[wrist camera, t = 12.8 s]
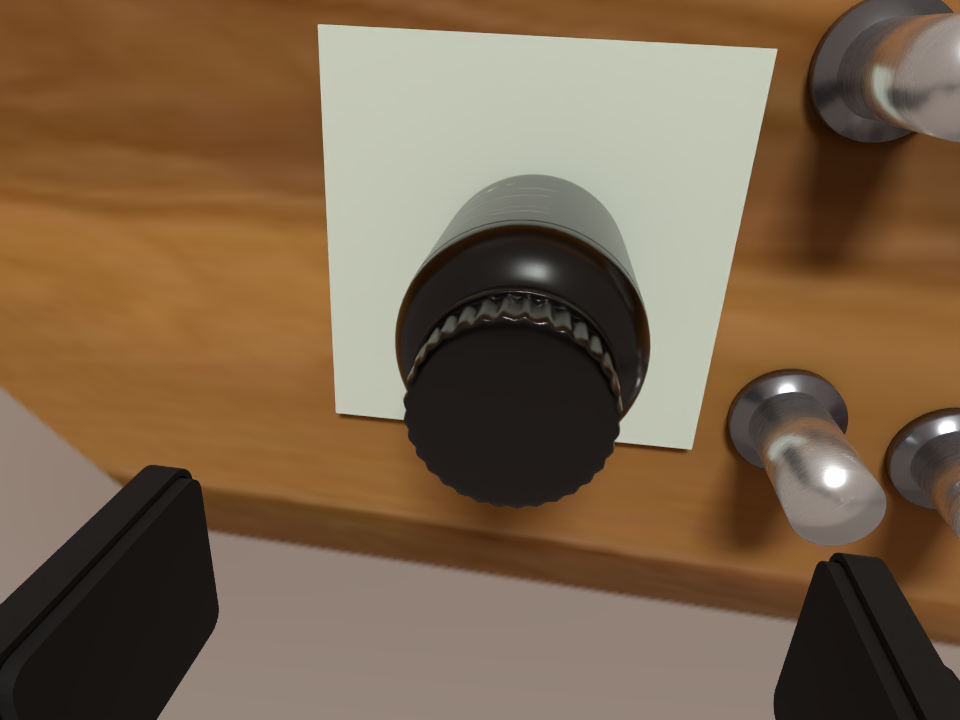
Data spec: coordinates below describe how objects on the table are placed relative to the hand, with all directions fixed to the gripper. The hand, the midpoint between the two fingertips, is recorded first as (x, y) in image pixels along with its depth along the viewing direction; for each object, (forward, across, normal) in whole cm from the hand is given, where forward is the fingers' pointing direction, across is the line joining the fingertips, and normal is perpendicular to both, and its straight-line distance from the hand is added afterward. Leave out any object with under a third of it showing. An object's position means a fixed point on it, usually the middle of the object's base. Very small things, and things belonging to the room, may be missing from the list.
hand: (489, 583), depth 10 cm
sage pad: (+17, +1, 0) cm, 17 cm away
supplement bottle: (+17, 0, 0) cm, 17 cm away
